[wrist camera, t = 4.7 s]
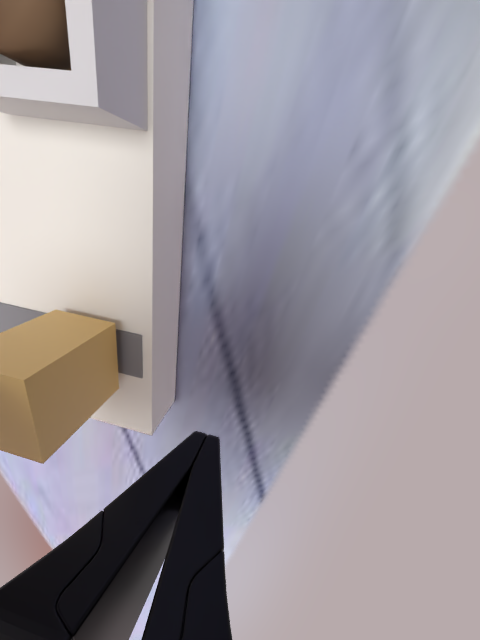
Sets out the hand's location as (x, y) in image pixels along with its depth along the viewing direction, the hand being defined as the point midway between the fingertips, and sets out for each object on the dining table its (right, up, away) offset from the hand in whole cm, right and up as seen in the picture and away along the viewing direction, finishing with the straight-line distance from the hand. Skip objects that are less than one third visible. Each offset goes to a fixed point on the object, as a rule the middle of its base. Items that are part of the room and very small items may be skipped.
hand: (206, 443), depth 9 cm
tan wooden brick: (-6, +3, +4) cm, 8 cm away
